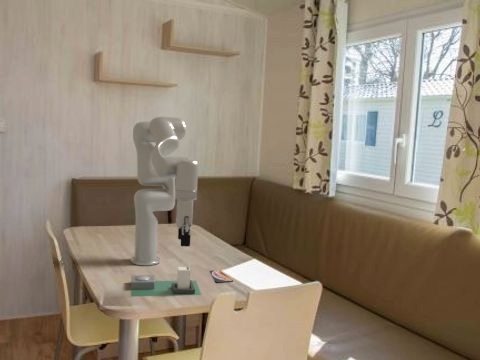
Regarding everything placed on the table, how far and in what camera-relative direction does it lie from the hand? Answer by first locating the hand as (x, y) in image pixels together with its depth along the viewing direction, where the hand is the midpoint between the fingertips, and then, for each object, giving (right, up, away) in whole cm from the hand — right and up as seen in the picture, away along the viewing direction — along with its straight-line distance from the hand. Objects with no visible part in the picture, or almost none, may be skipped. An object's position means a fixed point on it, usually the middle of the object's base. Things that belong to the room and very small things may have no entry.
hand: (183, 242), depth 177 cm
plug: (0, -17, +1) cm, 17 cm away
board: (-7, -18, +3) cm, 19 cm away
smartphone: (+11, -17, +23) cm, 31 cm away
